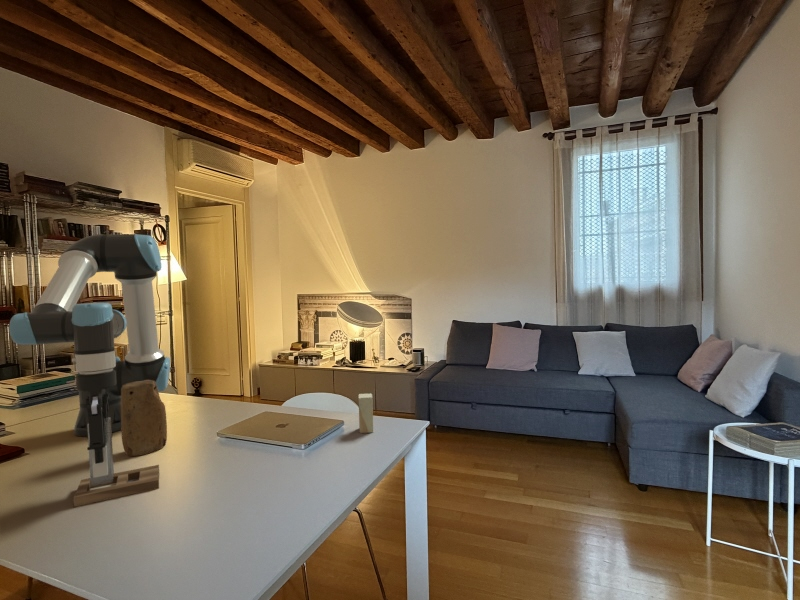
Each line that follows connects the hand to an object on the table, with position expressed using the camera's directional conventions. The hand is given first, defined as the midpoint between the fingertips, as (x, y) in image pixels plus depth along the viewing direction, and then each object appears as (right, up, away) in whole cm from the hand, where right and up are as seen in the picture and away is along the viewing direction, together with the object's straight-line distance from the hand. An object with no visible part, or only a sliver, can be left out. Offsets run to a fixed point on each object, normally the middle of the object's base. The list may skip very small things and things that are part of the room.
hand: (102, 471), depth 101 cm
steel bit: (0, -2, 0) cm, 2 cm away
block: (-5, -4, +25) cm, 26 cm away
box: (+58, -2, +37) cm, 69 cm away
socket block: (+3, -5, +2) cm, 6 cm away
